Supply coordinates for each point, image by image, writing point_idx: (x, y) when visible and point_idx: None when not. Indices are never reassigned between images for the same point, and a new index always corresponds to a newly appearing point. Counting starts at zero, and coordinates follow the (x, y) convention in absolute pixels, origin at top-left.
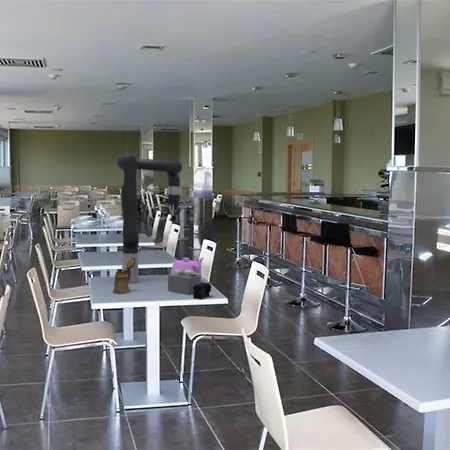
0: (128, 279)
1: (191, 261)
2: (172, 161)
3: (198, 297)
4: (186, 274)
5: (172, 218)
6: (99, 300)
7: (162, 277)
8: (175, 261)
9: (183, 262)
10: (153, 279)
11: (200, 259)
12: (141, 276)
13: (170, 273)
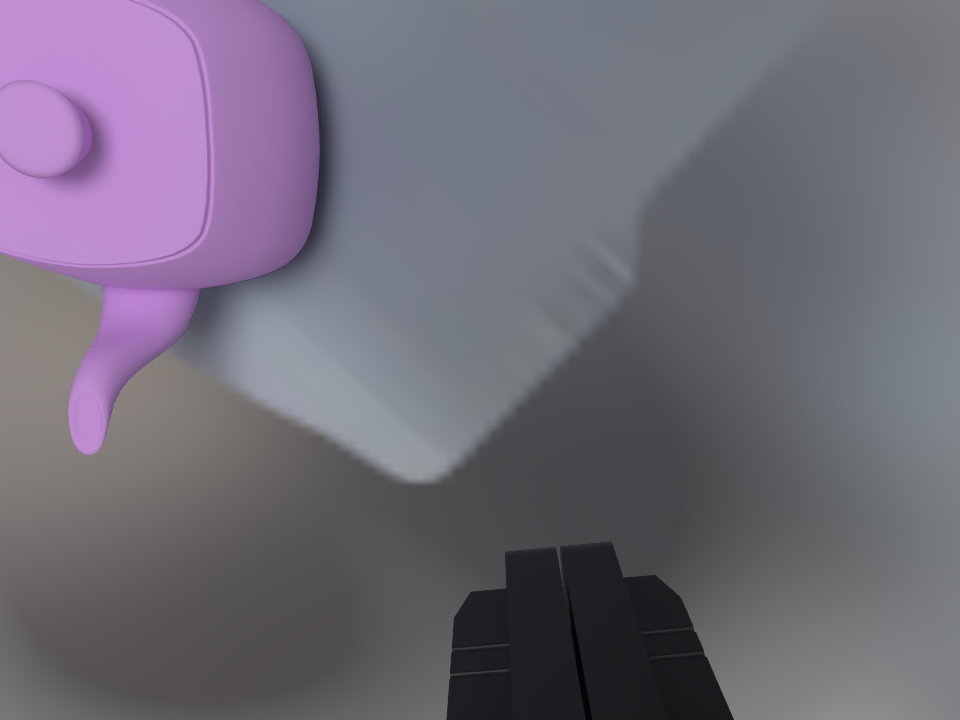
0: None
1: (47, 210)
2: None
3: None
4: None
5: (551, 633)
6: None
7: (556, 162)
8: (170, 33)
9: (32, 58)
10: (540, 10)
11: (75, 381)
12: (757, 29)
13: (258, 3)
